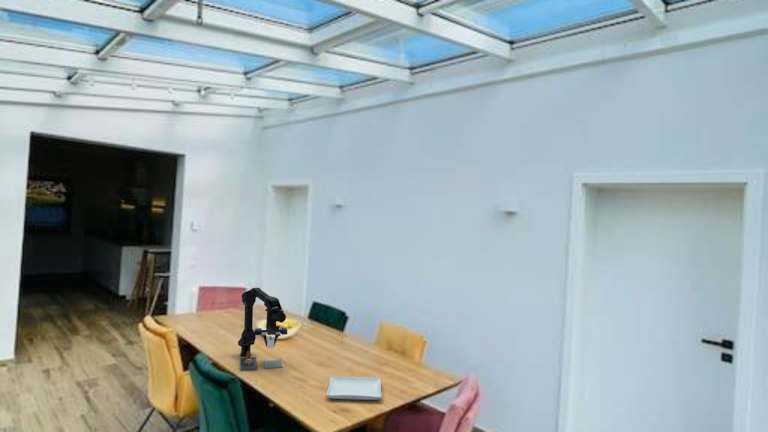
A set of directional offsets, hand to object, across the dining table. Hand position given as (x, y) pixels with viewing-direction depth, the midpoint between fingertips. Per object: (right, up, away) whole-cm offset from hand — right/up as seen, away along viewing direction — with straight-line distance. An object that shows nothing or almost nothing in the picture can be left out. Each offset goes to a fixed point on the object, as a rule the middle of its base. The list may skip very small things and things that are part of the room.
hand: (270, 346), depth 272 cm
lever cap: (0, -1, 0) cm, 1 cm away
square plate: (+52, -14, -35) cm, 64 cm away
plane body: (-12, -11, -4) cm, 16 cm away
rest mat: (+1, -11, +1) cm, 11 cm away
